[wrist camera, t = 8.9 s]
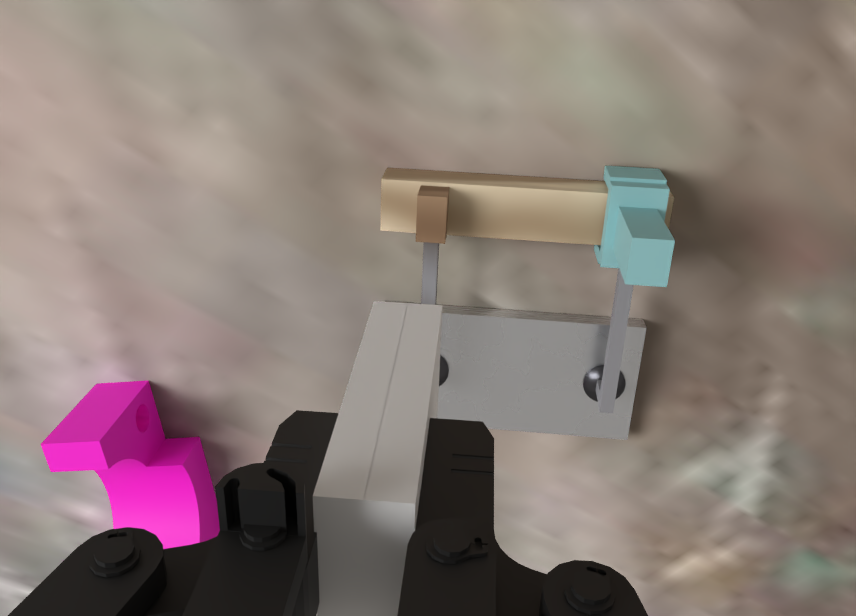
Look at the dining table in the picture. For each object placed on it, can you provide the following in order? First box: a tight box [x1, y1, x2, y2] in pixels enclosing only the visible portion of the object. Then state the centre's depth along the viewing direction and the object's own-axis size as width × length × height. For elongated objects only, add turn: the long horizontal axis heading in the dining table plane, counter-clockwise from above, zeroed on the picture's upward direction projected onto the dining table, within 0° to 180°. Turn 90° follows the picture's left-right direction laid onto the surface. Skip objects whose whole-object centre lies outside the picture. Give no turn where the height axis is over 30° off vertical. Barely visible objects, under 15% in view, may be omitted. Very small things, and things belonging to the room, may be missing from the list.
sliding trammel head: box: [594, 166, 675, 413], centre depth 44 cm, size 14×3×8 cm, turn 178°
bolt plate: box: [385, 301, 646, 440], centre depth 51 cm, size 8×16×1 cm, turn 88°
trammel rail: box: [381, 168, 674, 305], centre depth 47 cm, size 13×16×4 cm
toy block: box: [41, 381, 220, 549], centre depth 54 cm, size 15×6×8 cm, turn 7°
